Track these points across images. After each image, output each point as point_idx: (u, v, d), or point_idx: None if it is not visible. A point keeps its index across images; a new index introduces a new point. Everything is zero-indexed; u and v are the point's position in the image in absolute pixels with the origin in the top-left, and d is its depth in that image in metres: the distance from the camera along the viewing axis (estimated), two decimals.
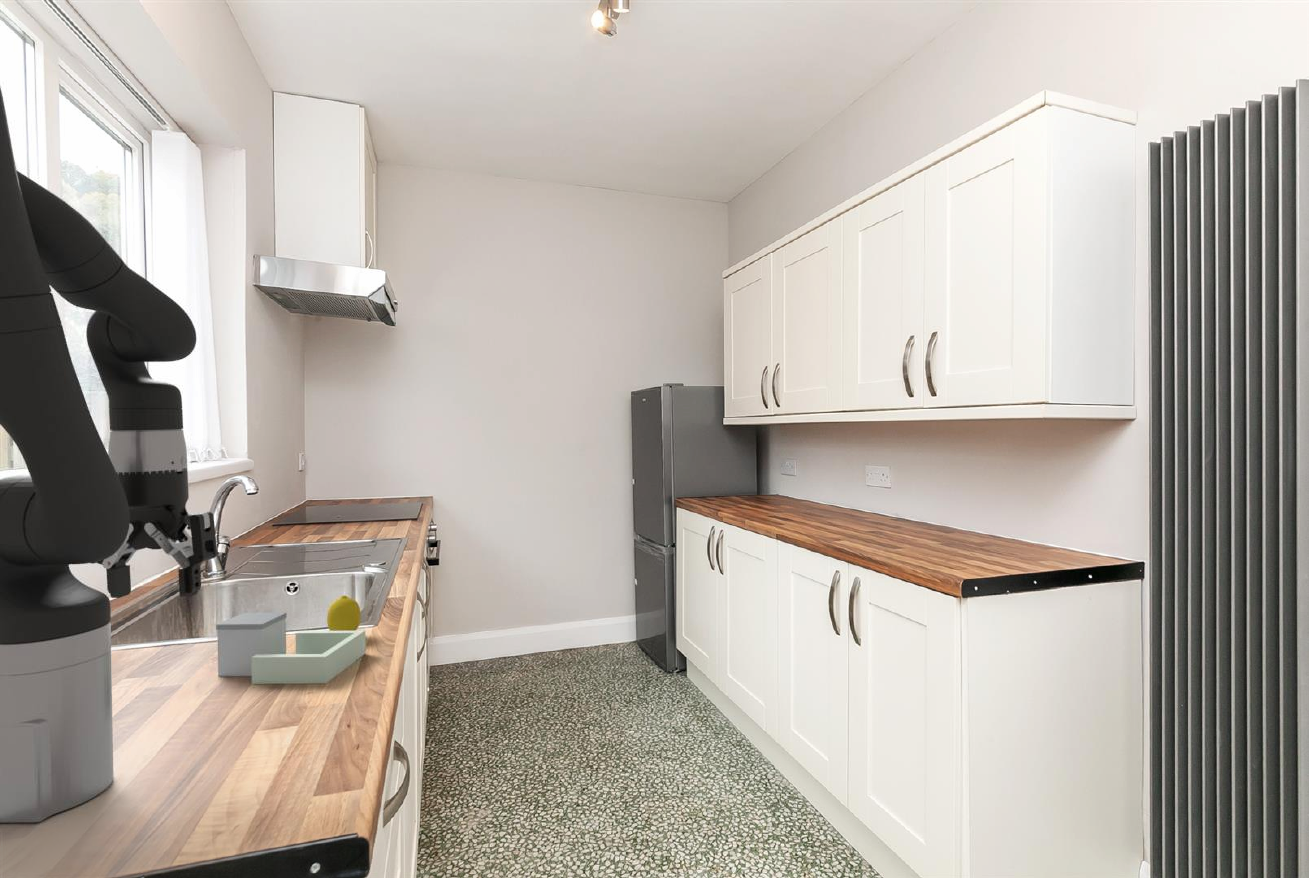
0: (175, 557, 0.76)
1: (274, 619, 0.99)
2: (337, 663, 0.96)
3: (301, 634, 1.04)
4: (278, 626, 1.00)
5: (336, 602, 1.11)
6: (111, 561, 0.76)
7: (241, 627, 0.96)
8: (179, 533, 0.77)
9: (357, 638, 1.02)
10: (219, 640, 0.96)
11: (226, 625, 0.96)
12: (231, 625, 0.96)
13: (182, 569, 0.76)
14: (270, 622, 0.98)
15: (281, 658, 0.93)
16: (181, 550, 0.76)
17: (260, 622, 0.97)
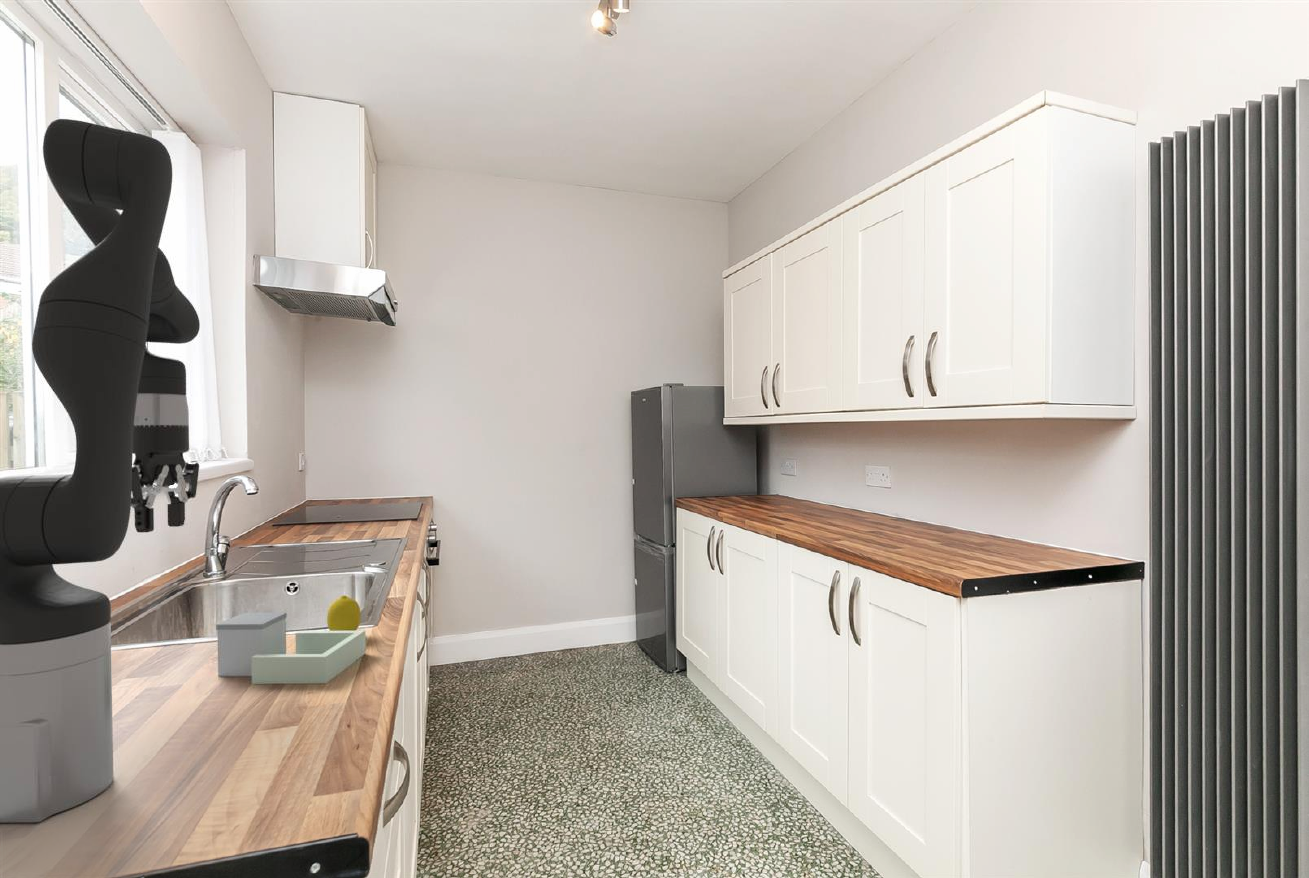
0: (180, 493, 1.02)
1: (274, 619, 0.99)
2: (337, 663, 0.96)
3: (301, 634, 1.04)
4: (278, 626, 1.00)
5: (336, 602, 1.11)
6: (152, 501, 0.96)
7: (241, 627, 0.96)
8: None
9: (357, 638, 1.02)
10: (219, 640, 0.96)
11: (226, 625, 0.96)
12: (231, 625, 0.96)
13: (182, 504, 1.02)
14: (270, 622, 0.98)
15: (281, 658, 0.93)
16: (183, 489, 1.02)
17: (260, 622, 0.97)
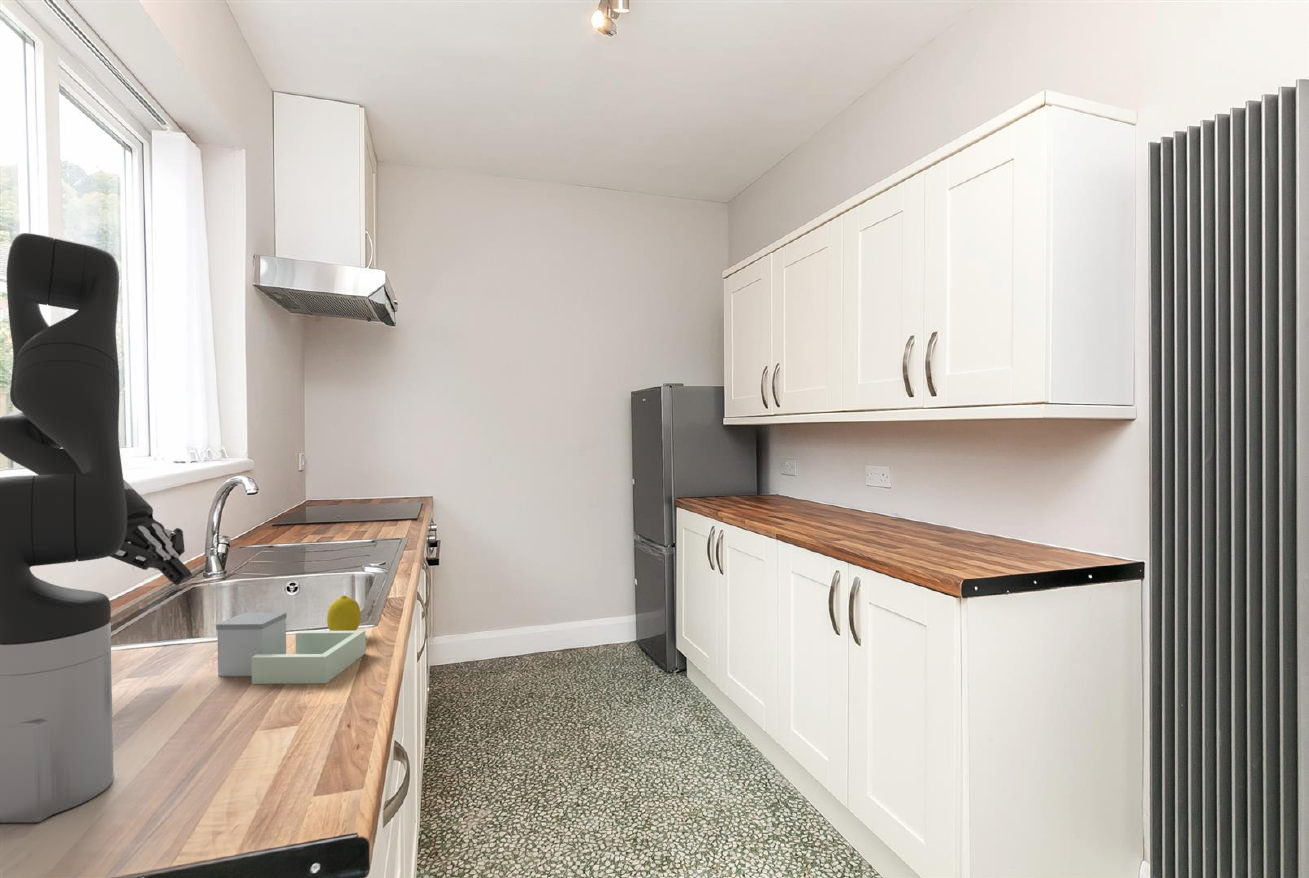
0: (167, 549, 1.00)
1: (274, 619, 0.99)
2: (337, 663, 0.96)
3: (301, 634, 1.04)
4: (278, 626, 1.00)
5: (336, 602, 1.11)
6: (167, 554, 0.99)
7: (241, 627, 0.96)
8: None
9: (357, 638, 1.02)
10: (219, 640, 0.96)
11: (226, 625, 0.96)
12: (231, 625, 0.96)
13: (175, 559, 1.00)
14: (270, 622, 0.98)
15: (281, 658, 0.93)
16: (171, 548, 1.01)
17: (260, 622, 0.97)
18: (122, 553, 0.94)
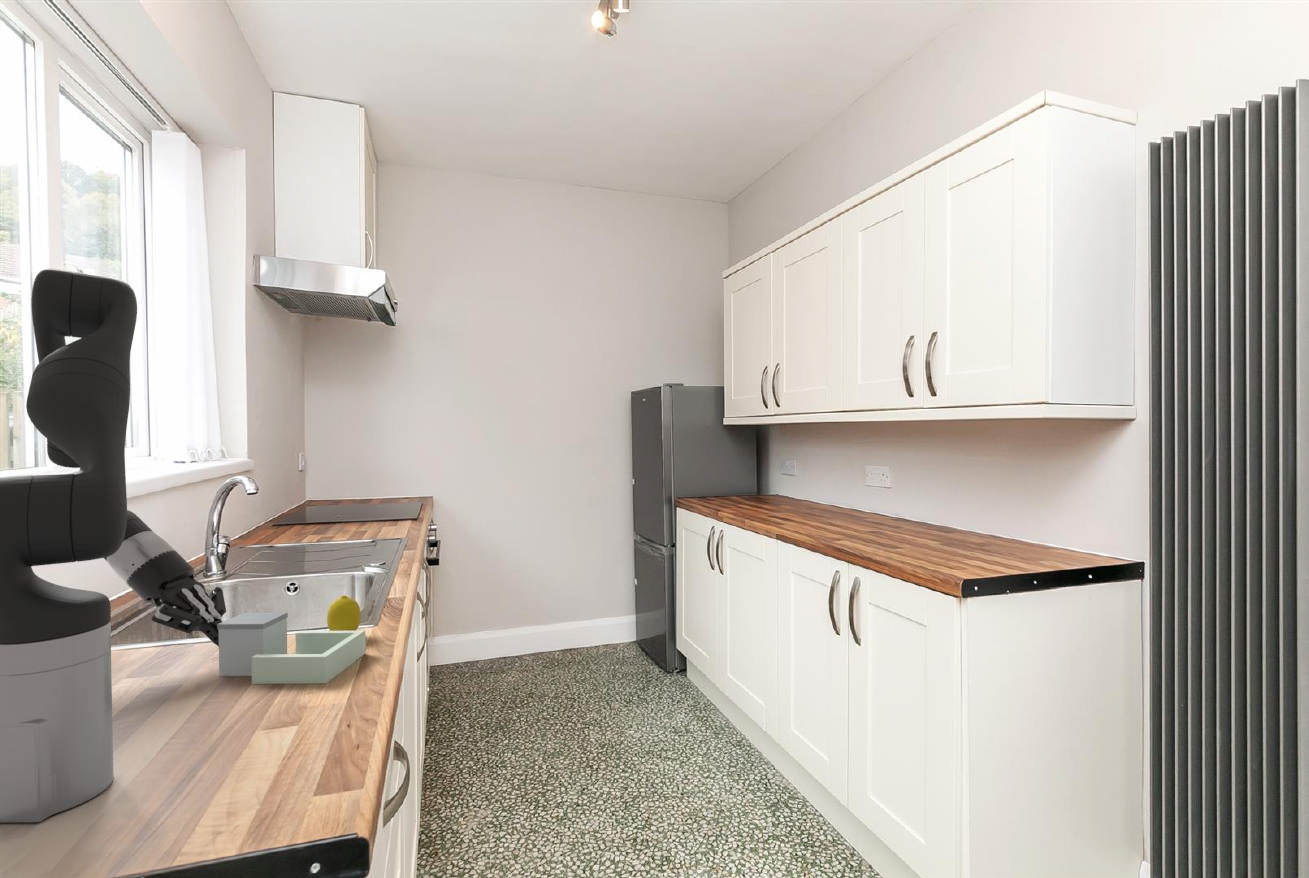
0: (210, 611, 0.99)
1: (275, 619, 0.99)
2: (337, 663, 0.96)
3: (301, 634, 1.04)
4: (279, 626, 1.00)
5: (336, 602, 1.11)
6: (211, 616, 0.99)
7: (242, 627, 0.96)
8: None
9: (357, 638, 1.02)
10: (220, 640, 0.96)
11: (227, 625, 0.96)
12: (232, 625, 0.96)
13: (218, 620, 0.99)
14: (271, 622, 0.98)
15: (281, 658, 0.93)
16: (213, 609, 1.00)
17: (261, 622, 0.97)
18: (168, 618, 0.94)
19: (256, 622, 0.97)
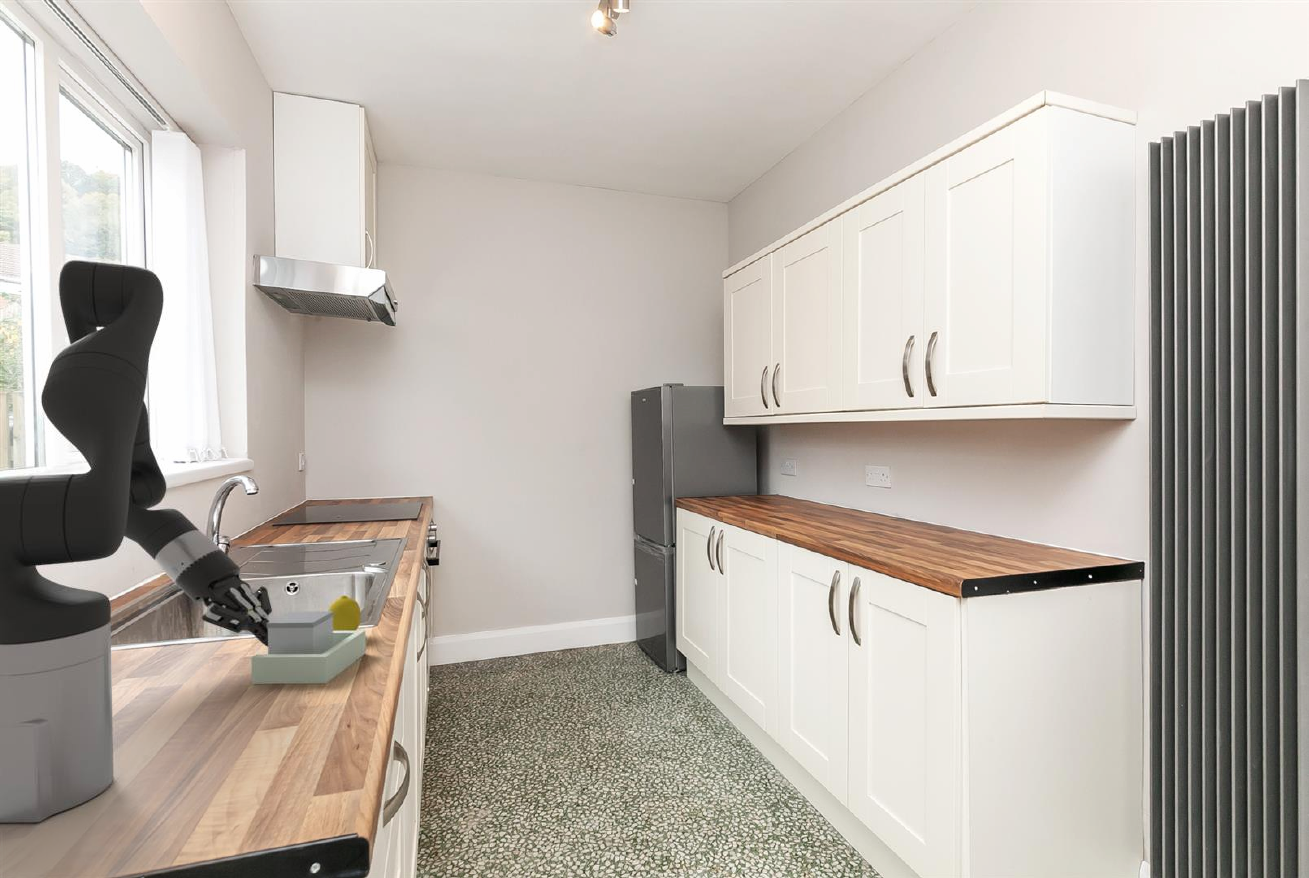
0: (257, 610, 0.99)
1: (323, 617, 0.99)
2: (337, 663, 0.96)
3: None
4: (326, 624, 1.00)
5: (336, 602, 1.11)
6: (258, 616, 0.99)
7: (292, 625, 0.96)
8: None
9: (357, 638, 1.02)
10: (269, 639, 0.96)
11: (277, 624, 0.96)
12: (282, 624, 0.96)
13: (265, 620, 0.99)
14: (319, 621, 0.98)
15: (281, 658, 0.93)
16: (260, 608, 1.00)
17: (310, 620, 0.97)
18: (218, 618, 0.94)
19: (305, 621, 0.97)
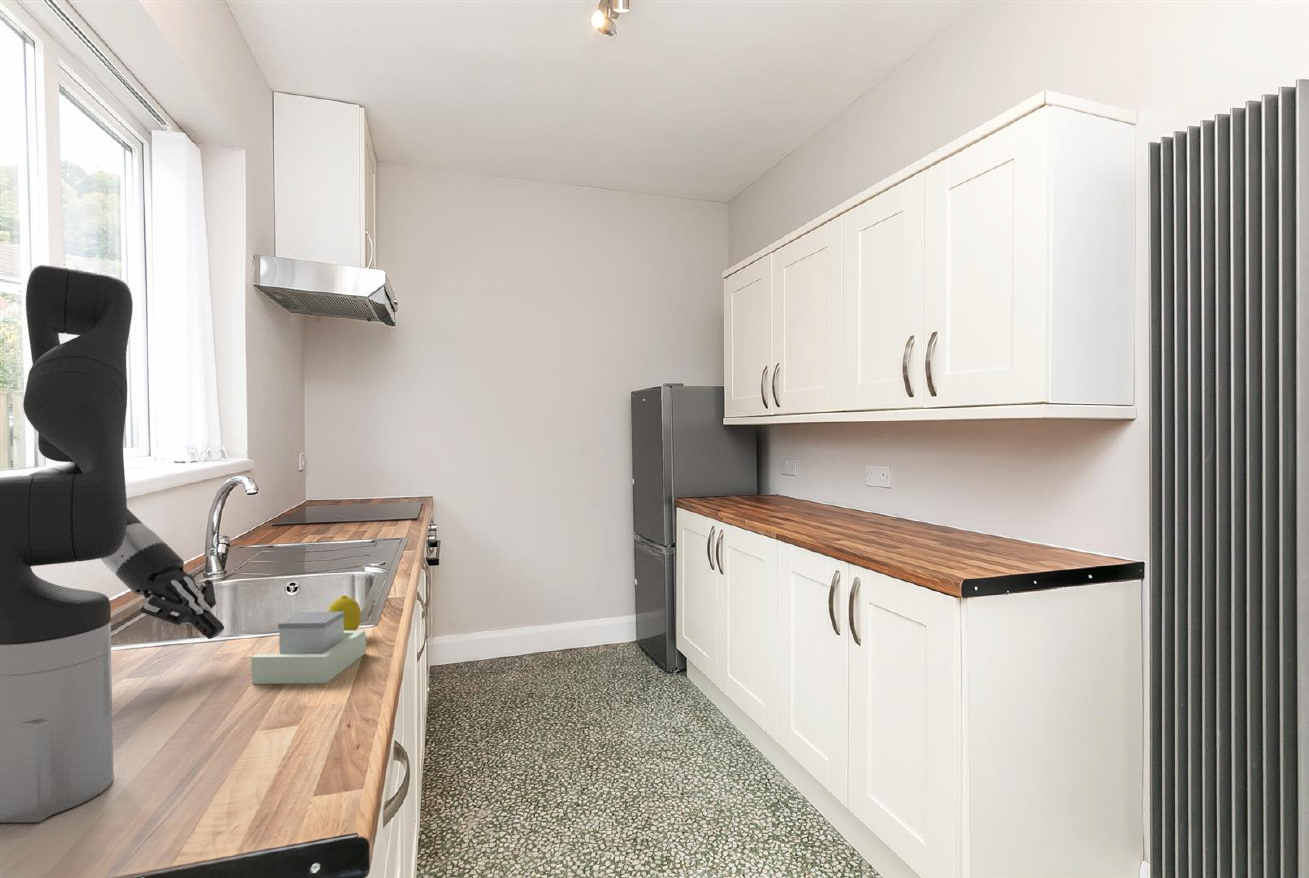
0: (200, 603, 0.99)
1: (334, 618, 0.99)
2: (337, 663, 0.96)
3: None
4: (337, 625, 1.00)
5: (336, 602, 1.11)
6: (200, 608, 0.99)
7: (303, 626, 0.96)
8: None
9: (357, 638, 1.02)
10: (281, 639, 0.96)
11: (288, 624, 0.96)
12: (293, 624, 0.96)
13: (208, 612, 0.99)
14: (330, 621, 0.98)
15: (281, 658, 0.93)
16: (203, 601, 1.00)
17: (322, 621, 0.97)
18: (156, 609, 0.94)
19: (316, 621, 0.97)
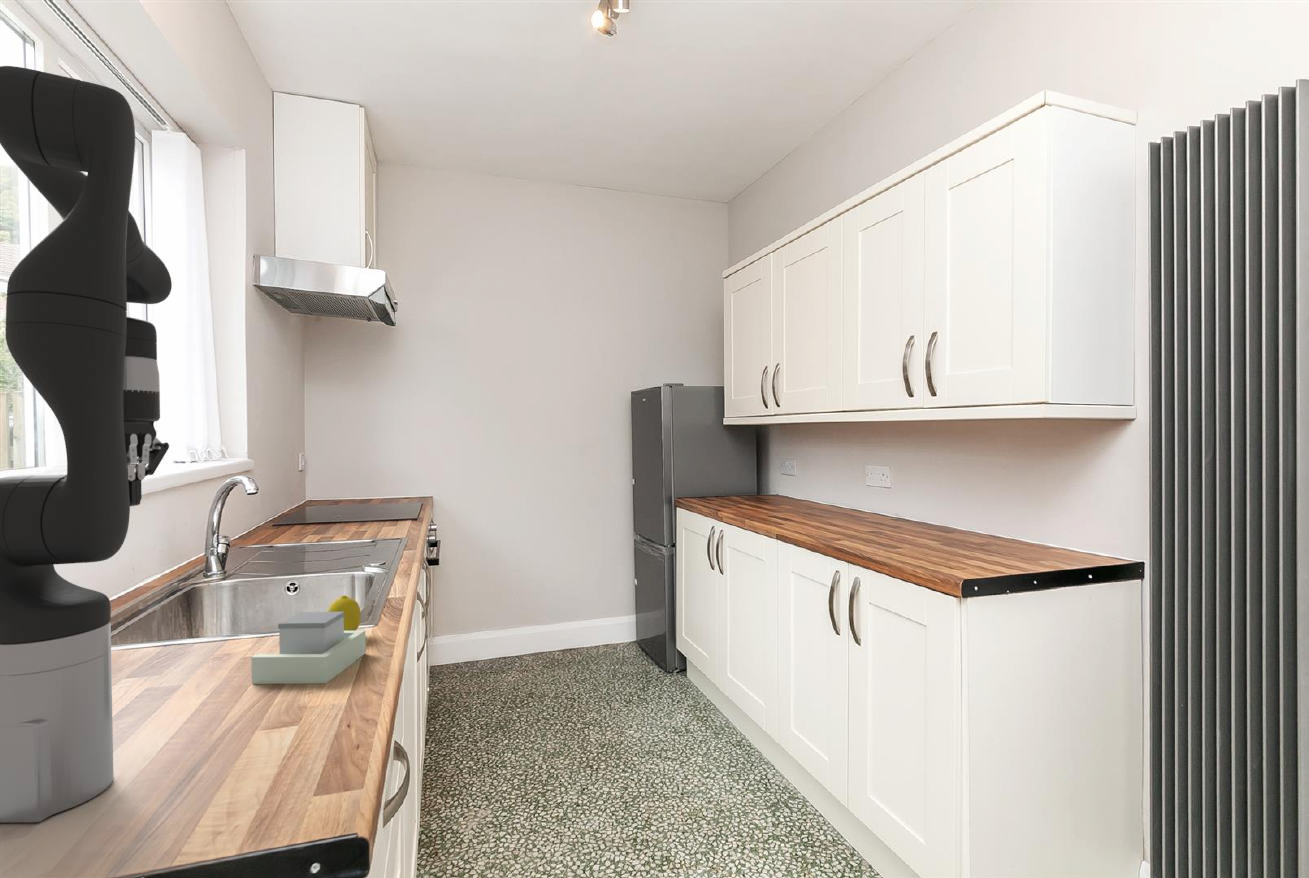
0: (139, 467, 0.92)
1: (334, 618, 0.99)
2: (337, 663, 0.96)
3: None
4: (337, 625, 1.00)
5: (336, 602, 1.11)
6: (134, 474, 0.92)
7: (303, 626, 0.96)
8: None
9: (357, 638, 1.02)
10: (281, 639, 0.96)
11: (288, 624, 0.96)
12: (293, 624, 0.96)
13: (138, 481, 0.92)
14: (330, 621, 0.98)
15: (281, 658, 0.93)
16: (144, 466, 0.93)
17: (322, 621, 0.97)
18: None
19: (316, 621, 0.97)
